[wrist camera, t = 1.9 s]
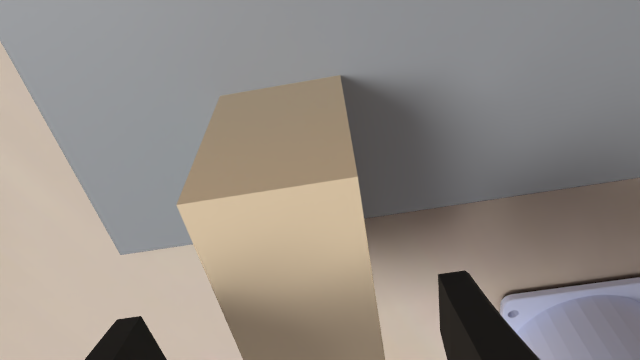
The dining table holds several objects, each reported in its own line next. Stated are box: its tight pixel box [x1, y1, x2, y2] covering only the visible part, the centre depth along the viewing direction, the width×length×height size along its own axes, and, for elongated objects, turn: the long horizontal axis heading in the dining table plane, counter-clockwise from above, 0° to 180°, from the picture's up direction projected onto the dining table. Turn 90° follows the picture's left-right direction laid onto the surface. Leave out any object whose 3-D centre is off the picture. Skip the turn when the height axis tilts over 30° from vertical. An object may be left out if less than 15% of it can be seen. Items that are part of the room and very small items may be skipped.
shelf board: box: [0, 0, 640, 255], centre depth 13 cm, size 15×28×2 cm, turn 100°
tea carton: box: [177, 75, 385, 360], centre depth 14 cm, size 7×4×6 cm, turn 10°
